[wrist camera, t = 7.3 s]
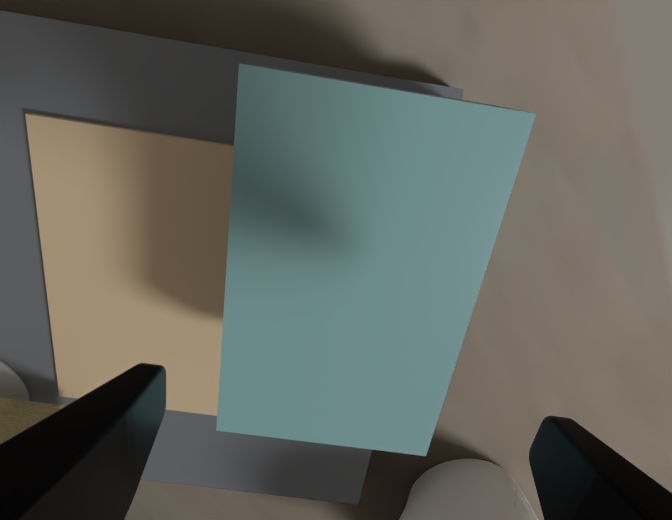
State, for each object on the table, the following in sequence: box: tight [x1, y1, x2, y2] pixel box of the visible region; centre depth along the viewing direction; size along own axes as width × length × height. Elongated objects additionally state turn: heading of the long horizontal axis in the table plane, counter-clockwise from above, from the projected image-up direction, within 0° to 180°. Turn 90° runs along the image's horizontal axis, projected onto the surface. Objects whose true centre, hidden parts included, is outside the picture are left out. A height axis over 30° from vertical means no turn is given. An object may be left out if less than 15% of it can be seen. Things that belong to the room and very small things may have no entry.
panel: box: [0, 10, 464, 504], centre depth 17 cm, size 20×22×4 cm
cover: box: [216, 64, 536, 456], centre depth 13 cm, size 10×7×3 cm, turn 171°
